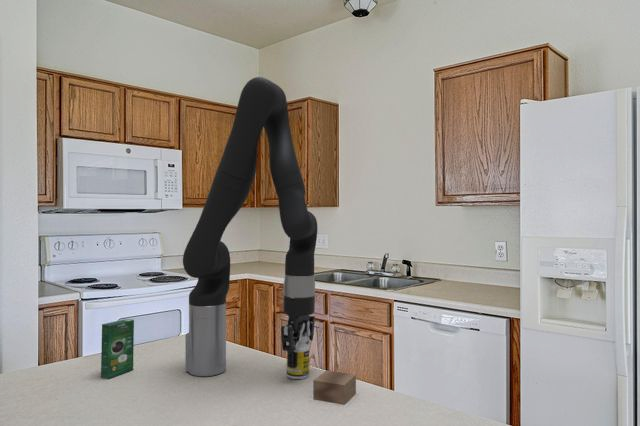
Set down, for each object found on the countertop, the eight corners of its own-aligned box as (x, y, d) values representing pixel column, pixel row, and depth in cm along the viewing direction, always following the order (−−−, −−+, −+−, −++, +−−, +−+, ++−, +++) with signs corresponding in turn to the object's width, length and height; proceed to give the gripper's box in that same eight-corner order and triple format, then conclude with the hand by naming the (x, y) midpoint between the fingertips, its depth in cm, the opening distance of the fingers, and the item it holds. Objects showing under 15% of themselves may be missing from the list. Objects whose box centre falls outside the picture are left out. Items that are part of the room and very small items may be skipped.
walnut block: (313, 399, 103) (313, 380, 103) (326, 388, 110) (326, 370, 110) (344, 404, 101) (344, 385, 101) (355, 393, 107) (355, 374, 107)
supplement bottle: (306, 380, 115) (307, 339, 115) (283, 378, 116) (284, 337, 116) (311, 373, 120) (311, 333, 120) (289, 371, 121) (290, 331, 121)
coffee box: (126, 368, 127) (126, 317, 127) (134, 369, 125) (134, 318, 125) (100, 377, 119) (100, 323, 119) (108, 379, 118) (108, 325, 118)
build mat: (292, 402, 105) (292, 396, 105) (316, 383, 116) (316, 379, 116) (346, 411, 100) (346, 406, 100) (365, 391, 111) (365, 386, 111)
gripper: (298, 287, 126) (297, 353, 126) (270, 296, 113) (269, 370, 113) (325, 290, 123) (324, 357, 123) (300, 299, 109) (298, 375, 110)
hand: (298, 363), depth 118 cm, fingers closed on supplement bottle, 5 cm apart
